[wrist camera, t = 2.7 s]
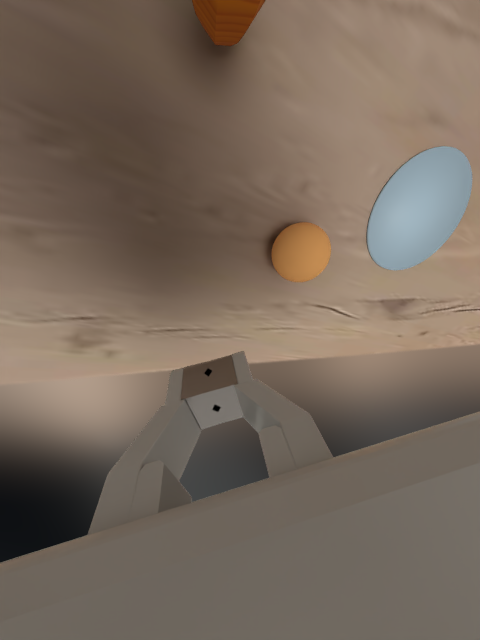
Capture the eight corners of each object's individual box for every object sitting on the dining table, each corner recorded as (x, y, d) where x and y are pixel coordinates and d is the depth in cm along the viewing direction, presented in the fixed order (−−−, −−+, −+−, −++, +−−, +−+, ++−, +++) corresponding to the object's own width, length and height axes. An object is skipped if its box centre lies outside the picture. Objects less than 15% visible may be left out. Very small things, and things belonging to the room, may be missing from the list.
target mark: (375, 161, 19) (377, 160, 19) (489, 135, 20) (492, 134, 20) (360, 279, 25) (361, 280, 25) (447, 257, 26) (448, 257, 26)
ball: (261, 227, 20) (280, 234, 16) (312, 214, 20) (346, 218, 16) (267, 277, 23) (285, 296, 18) (312, 266, 23) (341, 282, 19)
